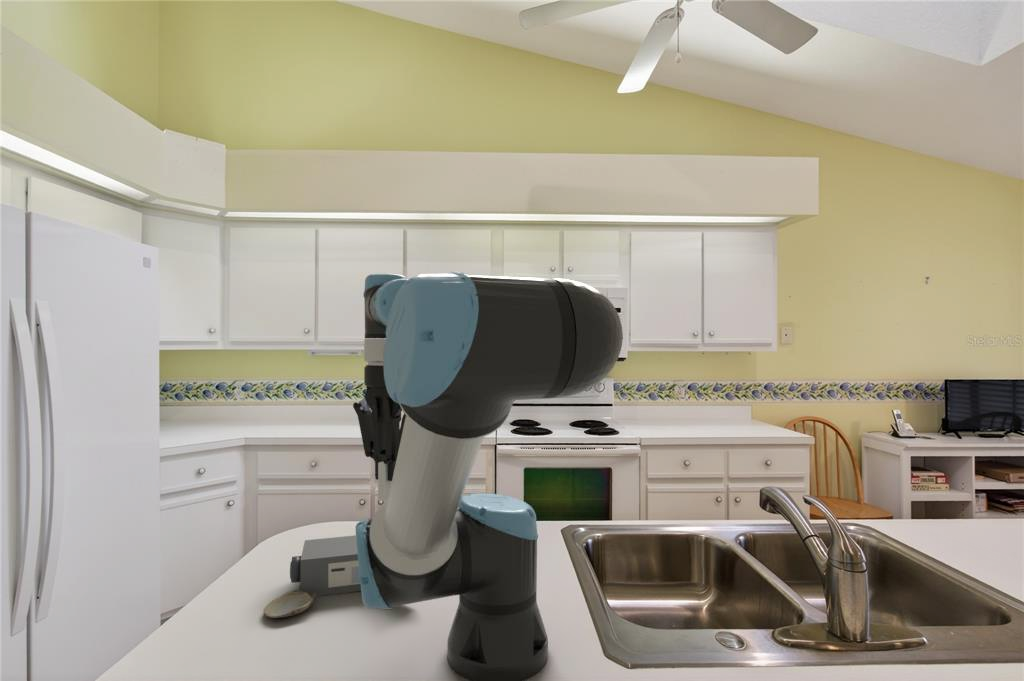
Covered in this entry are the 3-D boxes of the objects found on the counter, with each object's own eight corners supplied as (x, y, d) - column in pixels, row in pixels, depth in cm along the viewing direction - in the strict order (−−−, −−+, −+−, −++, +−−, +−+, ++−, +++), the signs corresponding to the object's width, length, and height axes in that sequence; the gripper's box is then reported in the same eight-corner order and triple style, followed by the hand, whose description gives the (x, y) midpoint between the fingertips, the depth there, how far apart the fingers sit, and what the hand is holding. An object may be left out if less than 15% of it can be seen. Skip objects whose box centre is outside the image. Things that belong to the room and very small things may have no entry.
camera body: (390, 587, 104) (390, 547, 104) (288, 600, 99) (288, 557, 99) (387, 566, 113) (387, 529, 113) (293, 576, 108) (293, 537, 108)
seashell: (277, 612, 98) (254, 625, 90) (277, 594, 99) (254, 605, 91) (322, 605, 98) (303, 617, 90) (321, 587, 99) (302, 597, 91)
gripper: (430, 363, 96) (429, 497, 96) (370, 362, 102) (369, 489, 102) (405, 365, 89) (405, 509, 90) (342, 363, 95) (342, 499, 95)
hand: (386, 498), depth 96 cm, fingers closed
